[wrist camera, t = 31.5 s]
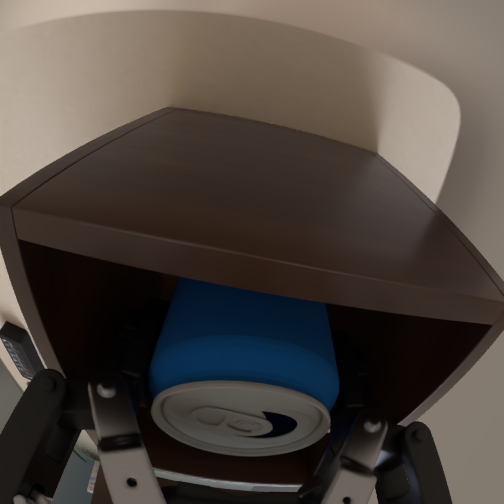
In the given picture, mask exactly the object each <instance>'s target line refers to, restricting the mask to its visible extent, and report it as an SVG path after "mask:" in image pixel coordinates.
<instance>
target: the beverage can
mask: <svg viewBox="0 0 504 504" xmlns="http://www.w3.org/2000/svg"><path fill="white" fill-rule="evenodd" d="M339 385H340V383H339V377H338V370H337V364H336V359H335V353H334V347H333V341H332V336H331V331H330V325H329V320H328V315H327V310H326V305H325V303H321V302H315V301H309V300H303V299H297V298H291V297H285V296H279V295H273V294H268V293H262V292H257V291H251V290H246V289H240V288H235V287H229V286H224V285H219V284H214V283H209V282H204V281H198V280H193V279H188V278H184V277H179V280H178V283H177V285H176V288H175V291H174V294H173V296H172V299H171V302H170V305H169V308H168V311H167V313H166V316H165V319H164V322H163V325H162V328H161V331H160V334H159V337H158V340H157V343H156V346H155V349H154V352H153V355H152V358H151V361H150V365H149V368H148V386H149V390H150V392H151V395H152V397H153V399H154V401H153V404H152V407H151V415H152V418H153V420H154V422H155V423H156V424H157V426H158V427H159V428H161V429H162V430H163V431H164V432H165V433H167V434H168V435H170V436H171V437H173V438H175V439H177V440H179V441H181V442H183V443H185V444H187V445H190V446H193V447H196V448H199V449H202V450H206V451H210V452H215V453H220V454H227V455H235V456H269V455H277V454H283V453H288V452H292V451H296V450H299V449H302V448H305V447H307V446H309V445H311V444H313V443H315V442H317V441H318V440H320V439H321V438H322V437H323V436H324V435H325V434H326V433H327V432H328V430H329V428H330V415H329V413H330V411H331V410H332V408H333V406H334V405H335V403H336V400H337V397H338V394H339Z"/></svg>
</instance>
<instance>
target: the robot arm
mask: <svg viewBox="0 0 504 504" xmlns="http://www.w3.org/2000/svg"><path fill="white" fill-rule="evenodd" d="M168 308H169V301H166V300H161V299H157V298H152V297H150V298H149V300H148V303H147V305H146V307H145V309H141V308H137V307H135V308H134V309H133V310H132V311H130V312H129V313H128V314H127V315H126V317H125V319H124V321H123V323H122V326H121V328H120V330H119V332H118V336H117V337H116V339H115V341H114V344H113V346H112V348H111V350H110V353H109V355H108V358H107V360H106V362H105V365H104V367H103V368H102V370H101V371H100V372H98V373H96V374H95V375H94V376H93V377H90V378H86V379H71V378H64V376H63V375H62V374H61V373H60V372H59V371H57V370H55V369H43V370H41V371H39V372H38V373H37V374H35V376H34V377H33V379H32V380H31V382H30V384H29V385H28V387H27V389H26V390H25V392H24V393H23V396H22V397H21V399H20V401H19V402H18V404H17V406H16V407H15V409H14V411H13V412H12V414H11V416H10V418H9V420H8V422H7V423H6V425H5V427H4V429H3V431H2V433H1V435H0V504H57V503H56V502H55V501H54V500H53V499H52V498H53V496H54V493H55V491H56V488H57V485H58V483H59V481H60V478H61V476H62V474H63V471H64V469H65V466H66V464H67V462H68V459H69V457H70V455H71V453H72V451H73V448H74V446H75V444H76V442H77V440H78V437H79V435H80V433H81V431H82V430H96V434H97V438H98V445H97V449H98V454H99V458H100V462H101V466H102V469H103V473H104V476H105V479H106V483H107V486H108V489H109V492H110V495H111V498H112V501H113V504H368V502H369V499H370V497H371V494H372V492H373V489H374V487H375V489H376V494H377V499H378V504H452V500H451V496H450V492H449V489H448V486H447V482H446V478H445V475H444V471H443V468H442V465H441V462H440V458H439V455H438V452H437V449H436V446H435V443H434V440H433V437H432V434H431V431H430V430H429V428H428V427H427V426H426V425H425V424H424V423H422V422H418V421H415V422H412V423H410V424H409V425H407V426H406V427H405V426H402V425H398V424H395V423H391V422H388V421H387V419H386V417H385V416H384V414H383V413H382V412H380V411H379V410H377V409H376V406H375V402H374V397H373V392H372V388H371V383H370V379H369V376H368V370H367V368H366V362H365V358H364V355H363V353H362V352H361V350H360V349H359V347H358V346H357V345H352V342H351V338H350V334H349V333H348V332H346V331H338V330H330V331H331V336H332V341H333V347H334V353H335V359H336V364H337V370H338V377H339V383H340V385H339V394H338V397H337V400H336V403H335V405H334V406H333V408H332V410H331V411H330V413H329V415H330V428H329V430H328V432H327V433H330V437H331V439H330V440H329V441H328V442H327V444H326V446H325V448H324V450H323V452H322V454H321V456H320V458H319V460H318V462H317V463H316V465H315V467H314V469H313V471H312V473H311V475H310V476H309V478H308V479H307V480H306V481H305V482H304V484H303V485H302V486H301V487H300V489H299V490H298V492H267V493H261V494H255V495H249V496H236V495H233V494H230V493H227V492H224V491H221V490H218V489H215V488H213V487H210V486H205V485H198V484H192V483H187V482H181V481H178V485H170V486H163V487H160V486H159V483H158V481H157V478H156V476H155V473H154V470H153V468H152V465H151V462H150V459H149V457H148V454H147V451H146V448H145V445H144V442H143V439H142V436H141V432H140V429H139V426H138V423H137V419H136V417H137V414H138V410H139V407H140V406H141V407H144V408H147V405H148V402H149V398H150V394H151V392H150V390H149V386H148V368H149V365H150V361H151V358H152V355H153V352H154V349H155V346H156V343H157V340H158V337H159V334H160V331H161V328H162V325H163V322H164V319H165V316H166V313H167V311H168ZM404 467H405V468H404ZM405 471H406V472H405ZM406 475H407V476H406ZM407 479H408V480H407ZM408 483H409V484H408Z"/></svg>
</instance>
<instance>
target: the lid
mask: <svg viewBox="0 0 504 504" xmlns="http://www.w3.org/2000/svg"><path fill="white" fill-rule="evenodd" d="M156 478H157V481H158V483H159V486H160V487H163V486H170V485H178V481H174V480H169V479H164V478H160V477H156ZM213 488H215V487H213ZM215 489H218V490H221V491H224V492H227V493H230V494H233V495H236V496H249V495H255V494H261V493H267V492H256V491H243V490H232V489H223V488H215ZM91 504H113V501H112V498H111V495H110V492H109V489H108V486H107V483H106V479H105V476H104V473H103V469H102V466H101V462H100V464H99V468H98V472H97V476H96V481H95V485H94V489H93V494H92V499H91Z"/></svg>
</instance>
